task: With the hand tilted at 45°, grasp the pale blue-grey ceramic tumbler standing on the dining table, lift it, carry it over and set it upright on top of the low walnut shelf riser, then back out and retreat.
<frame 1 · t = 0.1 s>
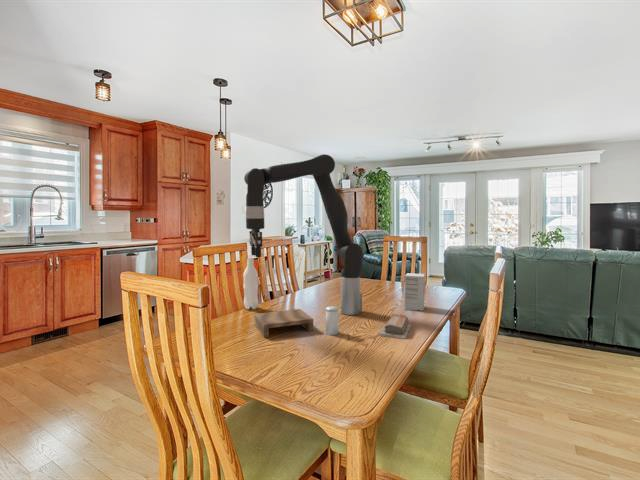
hand: (256, 256, 148), 29 cm above the table, tool pointing down, fingers open, 8 cm apart
shelf riser: (283, 328, 144), on the table
water bottle: (251, 308, 175), on the table
packaged product: (396, 331, 142), on the table
tumbler: (332, 332, 139), on the table
supplement box: (414, 308, 175), on the table
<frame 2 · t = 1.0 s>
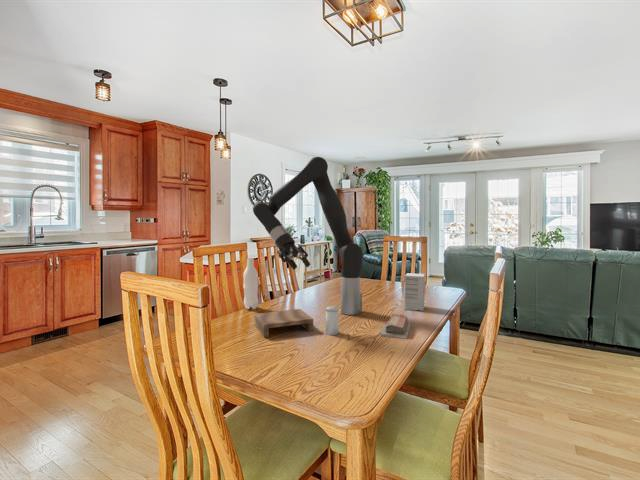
hand: (302, 267, 147), 25 cm above the table, tool tilted 45°, fingers open, 8 cm apart
nothing on the table moved.
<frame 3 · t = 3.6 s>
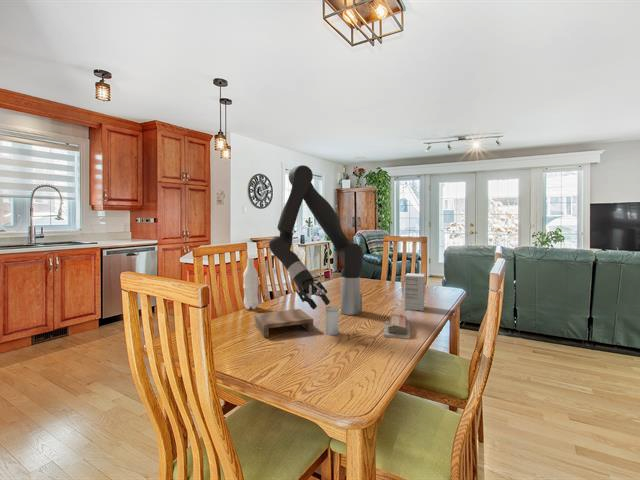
hand: (322, 306, 141), 10 cm above the table, tool tilted 45°, fingers open, 8 cm apart
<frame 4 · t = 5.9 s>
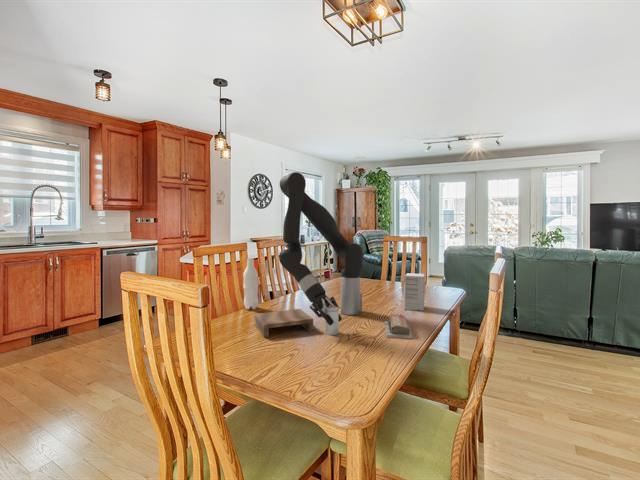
hand: (336, 322, 137), 5 cm above the table, tool tilted 45°, fingers closed on tumbler, 5 cm apart
tumbler: (332, 332, 139), on the table, touching gripper
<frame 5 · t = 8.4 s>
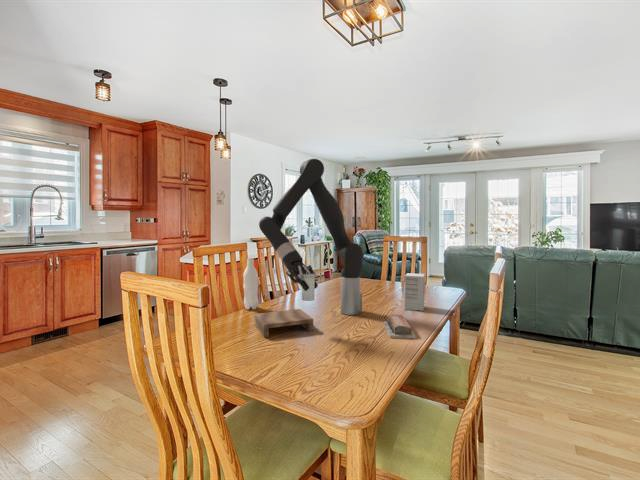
hand: (311, 288, 139), 17 cm above the table, tool tilted 45°, fingers closed on tumbler, 5 cm apart
tumbler: (308, 299, 140), point 13 cm above the table, touching gripper
when the fingers open (11 cm above the table, at t = 11.0 s): tumbler drops 1 cm, resting on shelf riser.
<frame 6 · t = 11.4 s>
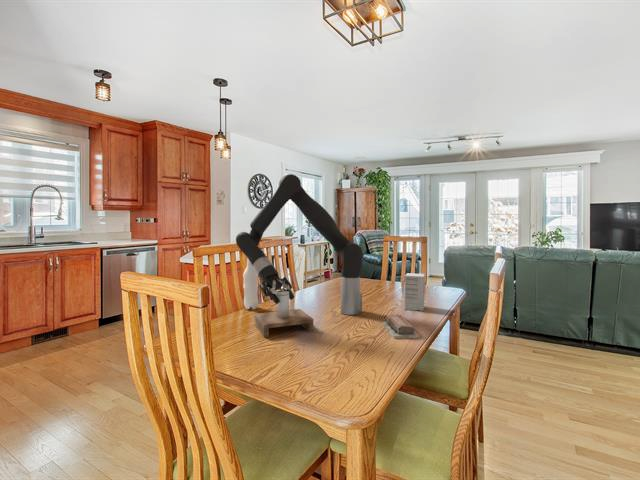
hand: (285, 300, 143), 12 cm above the table, tool tilted 45°, fingers open, 8 cm apart
tumbler: (283, 316, 144), point 5 cm above the table, touching shelf riser
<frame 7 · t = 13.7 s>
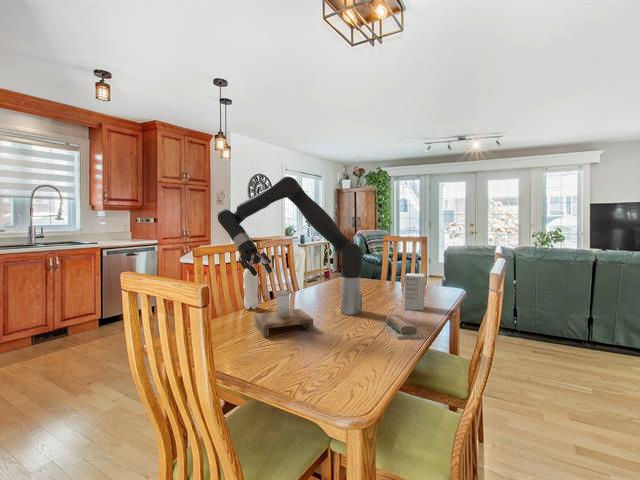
hand: (263, 273, 150), 22 cm above the table, tool tilted 45°, fingers open, 8 cm apart
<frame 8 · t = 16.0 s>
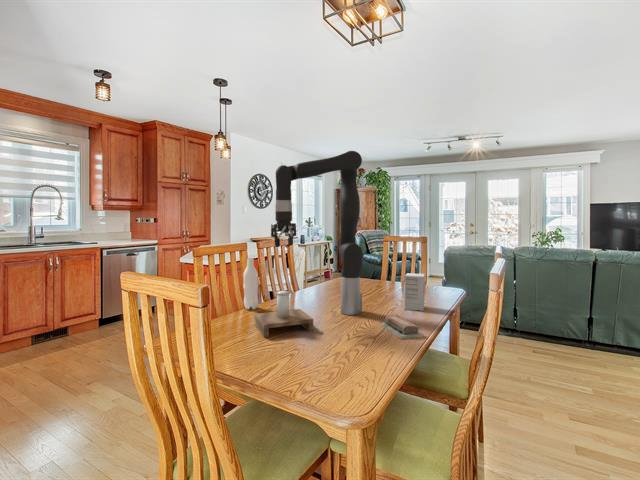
hand: (284, 246, 161), 32 cm above the table, tool pointing down, fingers open, 8 cm apart
at the end: tumbler inside the target area on the shelf riser (0.1 cm from its centre), point 5.0 cm above the shelf riser's base; tumbler tilted 0°; the gripper is holding nothing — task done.
